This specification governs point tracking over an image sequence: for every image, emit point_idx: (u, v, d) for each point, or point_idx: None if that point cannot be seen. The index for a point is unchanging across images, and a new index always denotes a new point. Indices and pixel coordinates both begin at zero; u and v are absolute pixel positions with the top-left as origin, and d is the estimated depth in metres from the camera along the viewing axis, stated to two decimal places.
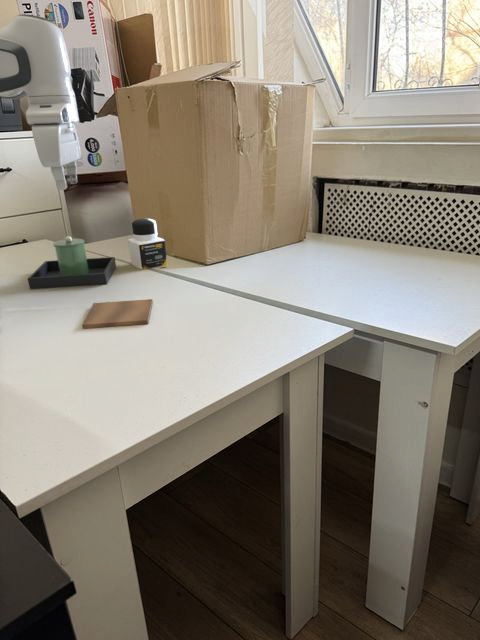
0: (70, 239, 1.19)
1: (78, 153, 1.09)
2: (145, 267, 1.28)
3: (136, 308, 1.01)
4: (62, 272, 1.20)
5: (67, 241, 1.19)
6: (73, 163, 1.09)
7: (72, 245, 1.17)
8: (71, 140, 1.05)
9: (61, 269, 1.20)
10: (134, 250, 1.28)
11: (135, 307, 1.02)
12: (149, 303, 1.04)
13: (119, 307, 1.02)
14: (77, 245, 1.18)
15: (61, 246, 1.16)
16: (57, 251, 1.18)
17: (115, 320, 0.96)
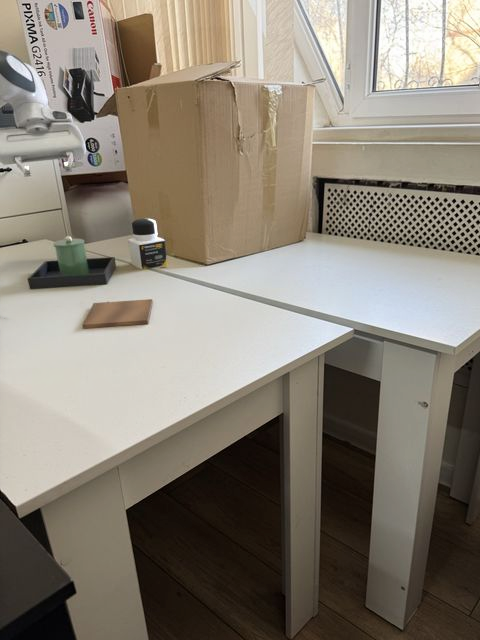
0: (70, 239, 1.19)
1: (14, 160, 1.22)
2: (145, 267, 1.28)
3: (136, 308, 1.01)
4: (62, 272, 1.20)
5: (67, 241, 1.19)
6: (22, 162, 1.21)
7: (72, 245, 1.17)
8: None
9: (61, 269, 1.20)
10: (134, 250, 1.28)
11: (135, 307, 1.02)
12: (149, 303, 1.04)
13: (119, 307, 1.02)
14: (77, 245, 1.18)
15: (61, 246, 1.16)
16: (57, 251, 1.18)
17: (115, 320, 0.96)
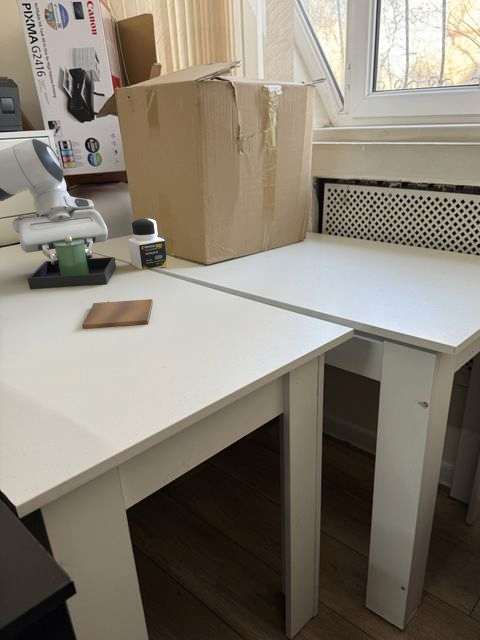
0: (70, 239, 1.19)
1: None
2: (145, 267, 1.28)
3: (136, 308, 1.01)
4: (62, 272, 1.20)
5: (67, 241, 1.19)
6: None
7: (72, 245, 1.17)
8: None
9: (61, 269, 1.20)
10: (134, 250, 1.28)
11: (135, 307, 1.02)
12: (149, 303, 1.04)
13: (119, 307, 1.02)
14: (77, 245, 1.18)
15: (61, 246, 1.16)
16: (57, 251, 1.18)
17: (115, 320, 0.96)
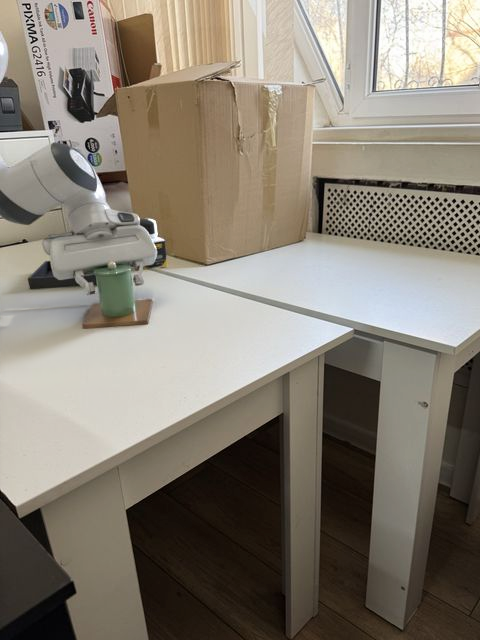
0: (114, 265, 0.96)
1: None
2: (145, 267, 1.28)
3: (136, 308, 1.01)
4: (104, 306, 0.97)
5: (111, 268, 0.96)
6: None
7: (118, 274, 0.94)
8: None
9: (103, 302, 0.97)
10: None
11: None
12: (149, 303, 1.04)
13: None
14: (123, 273, 0.95)
15: (104, 275, 0.93)
16: (98, 281, 0.95)
17: (115, 320, 0.96)
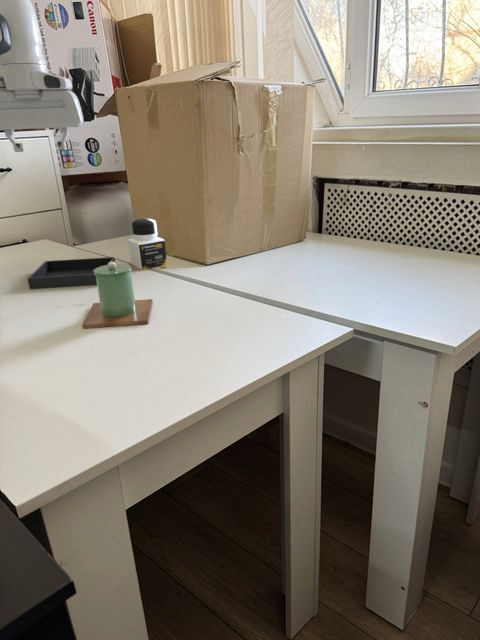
0: (114, 265, 0.96)
1: None
2: (145, 267, 1.28)
3: (136, 308, 1.01)
4: (104, 306, 0.97)
5: (111, 268, 0.96)
6: (14, 132, 1.12)
7: (118, 274, 0.94)
8: None
9: (103, 302, 0.97)
10: (134, 250, 1.28)
11: None
12: (149, 303, 1.04)
13: None
14: (123, 273, 0.95)
15: (104, 275, 0.93)
16: (98, 281, 0.95)
17: (115, 320, 0.96)
